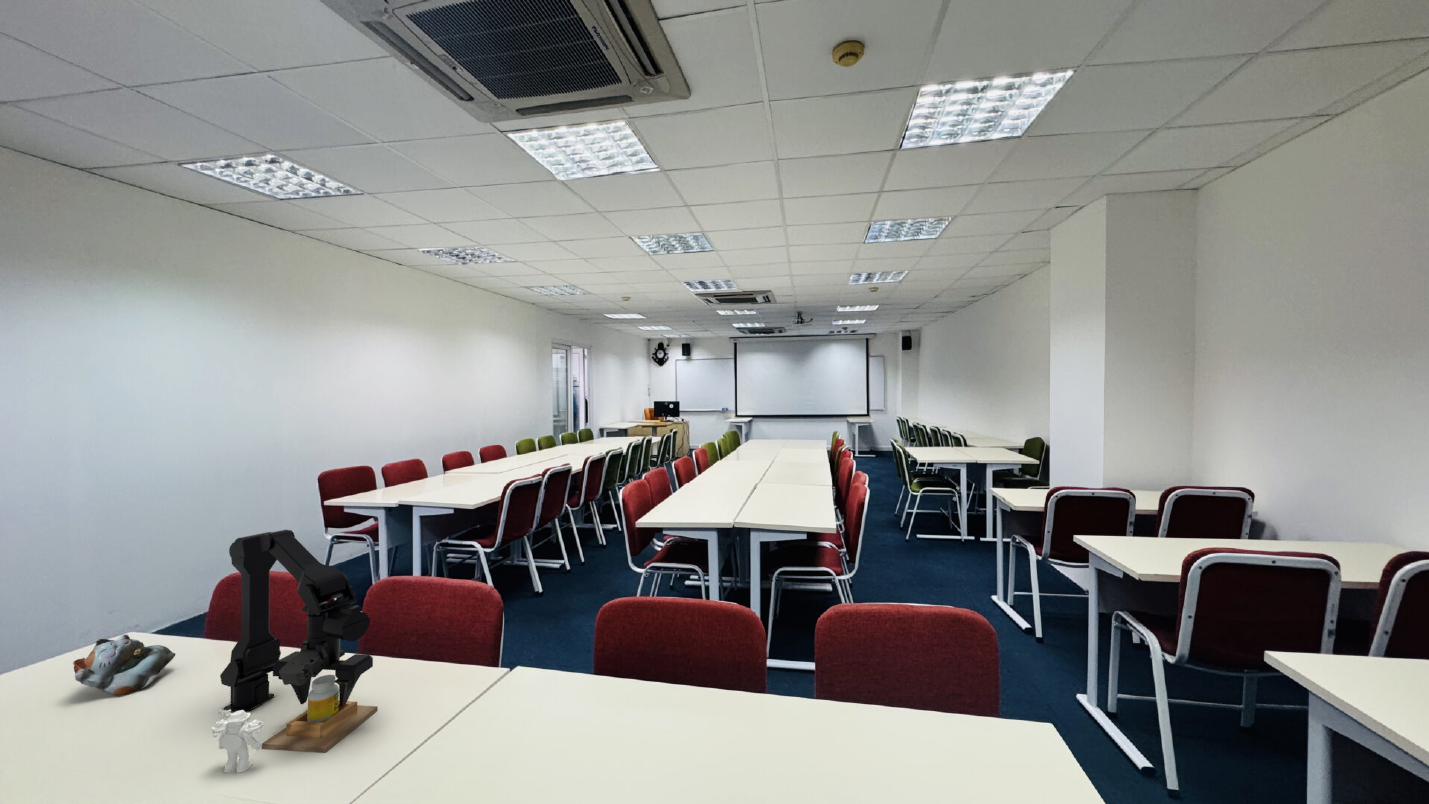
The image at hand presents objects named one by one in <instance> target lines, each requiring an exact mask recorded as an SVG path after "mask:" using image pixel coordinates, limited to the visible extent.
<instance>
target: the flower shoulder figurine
mask: <svg viewBox="0 0 1429 804" xmlns="http://www.w3.org/2000/svg"><path fill="white" fill-rule="evenodd" d="M217 711H218V714H220V715H221V716H223V715H225V717H222V719H221V720H219V721H216V722H215V725H214V726H212V727H211V735H212V737H213V738H217V737H218V736H219V735H220V736H219V738H218V749H219V750H225V751H227V761H226V763H225V767H224V770H223V772H224V773H225V774H229V773H232V772H234V771H236V773H243V772H245V771H247V770H249V769H250V768H251V767H252V766H253V761H252V760H250V759H249V758H250V755H249V747H248V745H249V746H250V747H251V748H252V749H254V750H255V751H256V752H258V750H260V749H262V743H263V742H262V741H259V740H257V739H256V738H255V737H254V736H253V734H254V733H256V734H261V733H263V731H264V727H265V725H264V724H265V722H264V721H261V720H258V719H259V717H257V719H253V720H252V721H250V716H251V715H252V713H251V712H245V711H244V710H240V711H233V713H232V711H231V710H227V711H226V710H223V708H221V709H218V710H217ZM228 716H229V717H228ZM226 717H228V718H227V719H226ZM220 733H221V734H220ZM238 758H239V759H238Z"/></svg>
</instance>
